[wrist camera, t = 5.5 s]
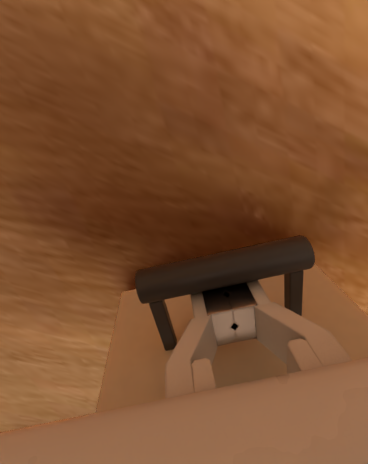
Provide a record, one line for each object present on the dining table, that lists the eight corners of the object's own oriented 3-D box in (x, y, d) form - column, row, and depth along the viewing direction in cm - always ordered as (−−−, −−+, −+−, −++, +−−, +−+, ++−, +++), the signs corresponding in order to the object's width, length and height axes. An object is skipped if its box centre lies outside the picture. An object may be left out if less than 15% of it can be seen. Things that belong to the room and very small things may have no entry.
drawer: (97, 233, 14) (34, 353, 7) (307, 188, 14) (455, 264, 7) (169, 408, 23) (173, 540, 16) (298, 381, 22) (360, 502, 15)
